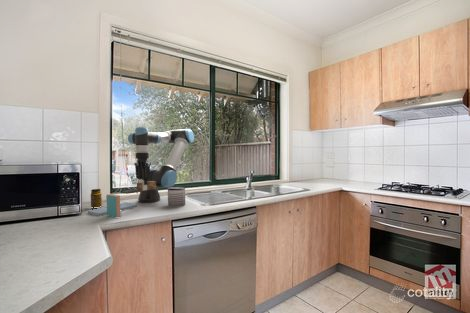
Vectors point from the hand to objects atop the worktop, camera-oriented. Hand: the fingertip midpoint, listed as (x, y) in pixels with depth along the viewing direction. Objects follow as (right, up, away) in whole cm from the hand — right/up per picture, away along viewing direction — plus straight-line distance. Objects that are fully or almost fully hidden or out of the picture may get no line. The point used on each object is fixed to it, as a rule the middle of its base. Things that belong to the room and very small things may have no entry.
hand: (143, 189), depth 141 cm
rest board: (-18, -12, 0) cm, 22 cm away
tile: (-10, -13, -15) cm, 22 cm away
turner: (-1, 0, -2) cm, 2 cm away
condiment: (-34, -13, +7) cm, 37 cm away
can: (+19, -12, +9) cm, 24 cm away
